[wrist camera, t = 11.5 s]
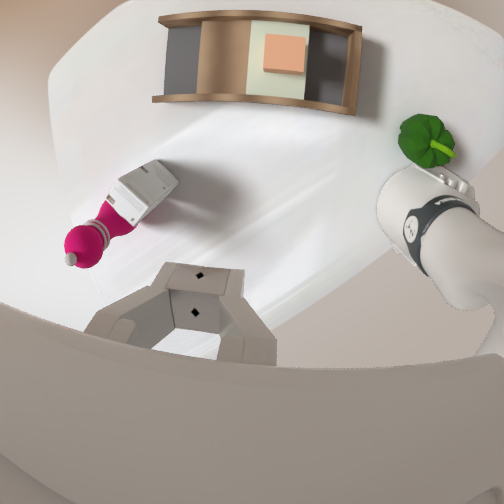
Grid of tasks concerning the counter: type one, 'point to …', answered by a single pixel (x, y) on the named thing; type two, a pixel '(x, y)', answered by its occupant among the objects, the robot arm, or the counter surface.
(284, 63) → the block
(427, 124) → the bell pepper
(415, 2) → the counter surface
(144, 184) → the skincare box
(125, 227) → the pepper mill
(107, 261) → the counter surface
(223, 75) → the box
